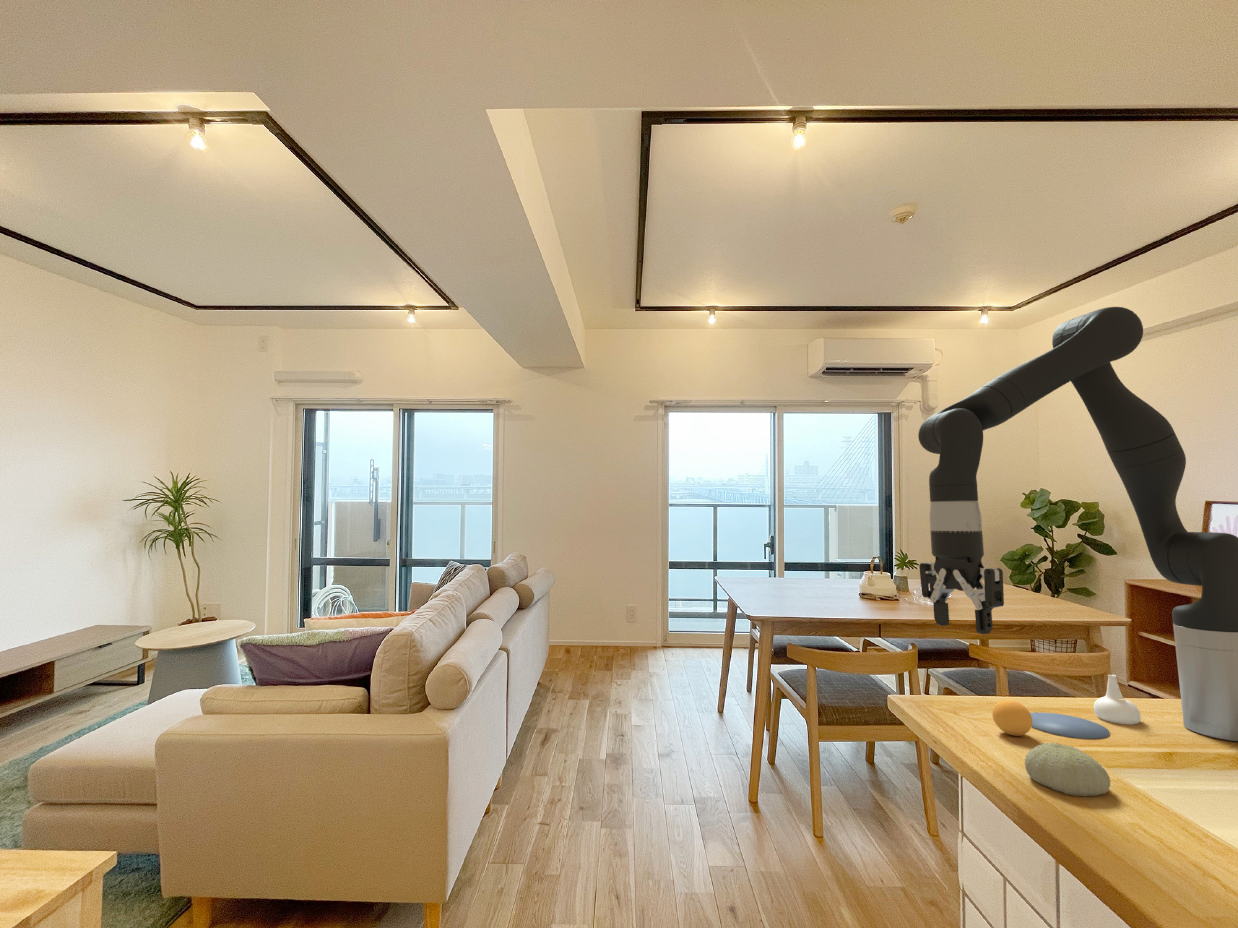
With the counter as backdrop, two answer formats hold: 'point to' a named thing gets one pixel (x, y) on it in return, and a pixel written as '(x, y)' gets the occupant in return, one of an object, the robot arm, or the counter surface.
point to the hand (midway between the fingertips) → (962, 628)
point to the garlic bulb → (1116, 706)
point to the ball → (1012, 717)
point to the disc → (1068, 726)
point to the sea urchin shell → (1066, 770)
